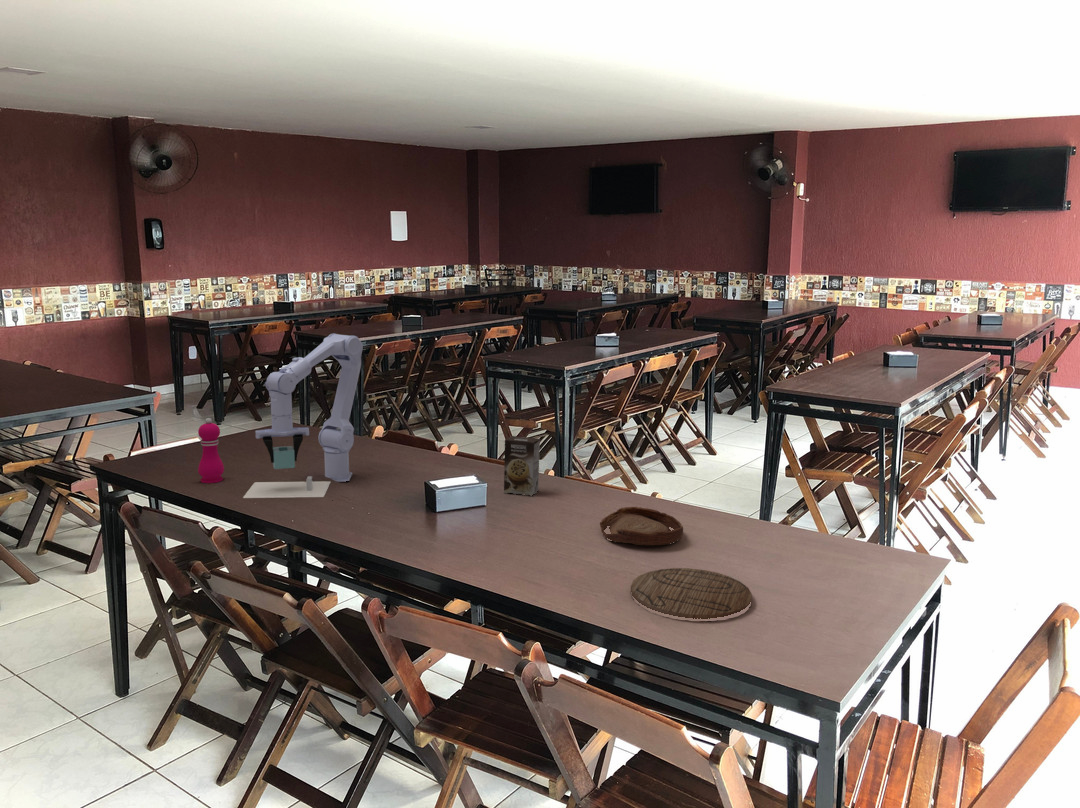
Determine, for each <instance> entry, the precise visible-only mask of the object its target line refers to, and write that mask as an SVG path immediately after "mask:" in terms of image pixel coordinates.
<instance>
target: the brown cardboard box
mask: <svg viewBox="0 0 1080 808" xmlns="http://www.w3.org/2000/svg"><path fill="white" fill-rule="evenodd" d="M540 445H541V438H537V437H536V438H535V437H527V436H519V435H518V436H517V435H511V436H509V437H507V438H505V440H504V462H503V463H504V464H503V465H504V466H503V468H504V470H503V471H504V473H503V474H504V475H503V494H507V493H514V494H513V495H516V494H525V495H533V494H535V493H536V492H537V491H538V490H539V480H540V453H541V452H540V450H541V449H540ZM539 491H540V490H539ZM539 491H538V492H539ZM538 492H537V493H538ZM537 493H536V494H537ZM536 494H535V495H536ZM533 496H534V495H533Z"/></svg>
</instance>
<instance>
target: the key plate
mask: <svg viewBox="0 0 1080 808" xmlns="http://www.w3.org/2000/svg"><path fill="white" fill-rule="evenodd" d="M305 480H306V481H266V482H265V481H263V482H262V481H259V482H258V481H256V482H253V484H252V485H251V486H250V488H249V489H248V490H247V492H245V494H244V495H243V497H242V499H271V498H273V499H274V498H279V499H280V498H283V499H284V498H324V497H325V495H326V493H327V491H328V488H329V486H330V484H331V482H332V481H331V480H330V481H313V476H312V475H311V476H310V475H309V476H308V475H307V478H306V479H305Z"/></svg>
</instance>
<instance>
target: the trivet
mask: <svg viewBox="0 0 1080 808" xmlns="http://www.w3.org/2000/svg"><path fill="white" fill-rule="evenodd" d="M631 592H632V596H633V597H634V598H635V599H636V600H637V601H638V602H639V603H641V604H642V605H644V606H646V607H647V608H650V609H652V610H655V611H658V612H661V613H664V614H669V615H673V616H678V617H685V618H693V619H694V618H695V619H697V618H698V619H700V618H701V619H708V618H709V619H710V618H717V617H724V616H728V615H731V614H734V613H737V612H740V611H741V610H743V609H745V608H746V607H747V606H748V605H749V604H750V602H751V603H752V599H753V598H752V596H753V594H752V592H751V590H750V588H749V587H748V586H746V585H745V584H744V583H743V582H741V581H740V580H738V579H735V578H733V577H731V576H730V575H726V574H722V573H719V572H715V571H711V570H707V569H706V570H705V569H697V568H687V567H686V568H685V567H684V568H682V567H681V568H679V567H677V568H676V567H671V568H660V569H656V570H652V571H648V572H645V573H643V574H640V575H638V576H637V577H636V578H635V579H633V580H632V583H631V585H630V593H631ZM632 596H631V597H632Z"/></svg>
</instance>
